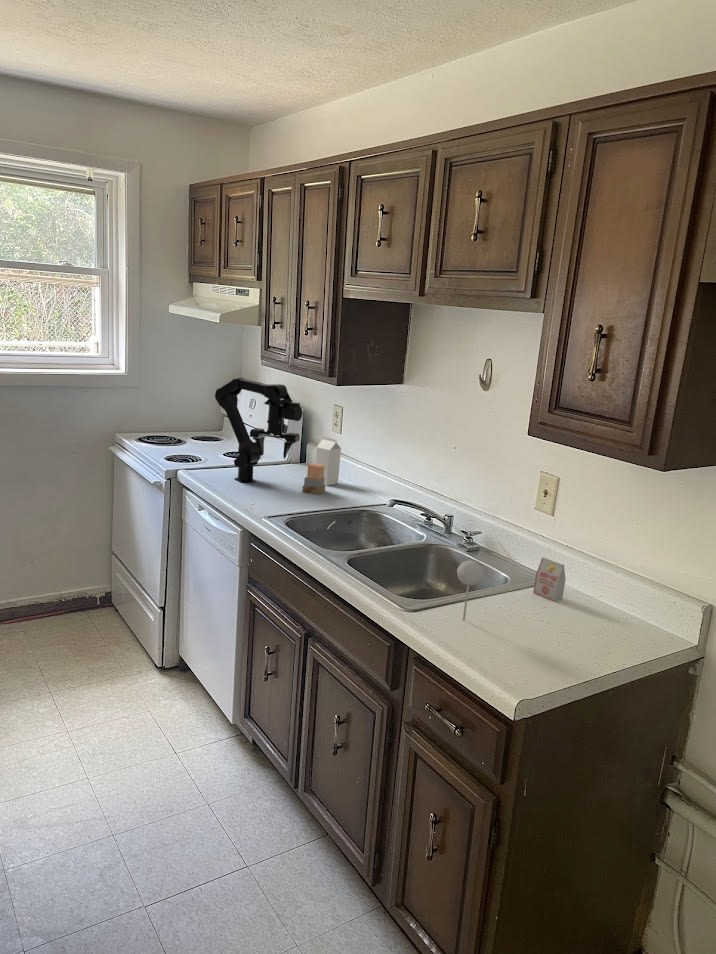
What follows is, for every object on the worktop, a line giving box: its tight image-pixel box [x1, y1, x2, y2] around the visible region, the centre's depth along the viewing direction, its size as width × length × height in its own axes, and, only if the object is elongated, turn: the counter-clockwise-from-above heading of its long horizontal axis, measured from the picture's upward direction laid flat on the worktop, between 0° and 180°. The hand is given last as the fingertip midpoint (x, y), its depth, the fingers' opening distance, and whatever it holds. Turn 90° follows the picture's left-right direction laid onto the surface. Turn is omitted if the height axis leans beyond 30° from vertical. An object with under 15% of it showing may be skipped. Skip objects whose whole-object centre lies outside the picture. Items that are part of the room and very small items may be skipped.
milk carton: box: [315, 436, 342, 487], centre depth 294 cm, size 7×7×19 cm
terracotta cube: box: [306, 462, 324, 480], centre depth 279 cm, size 5×5×5 cm
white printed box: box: [532, 556, 566, 603], centre depth 192 cm, size 4×7×10 cm, turn 40°
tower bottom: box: [301, 484, 326, 496], centre depth 280 cm, size 7×7×3 cm
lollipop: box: [456, 560, 484, 621], centre depth 171 cm, size 6×6×15 cm
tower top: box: [303, 476, 325, 488], centre depth 279 cm, size 6×6×3 cm
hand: (273, 456), depth 279 cm, fingers open, 9 cm apart
